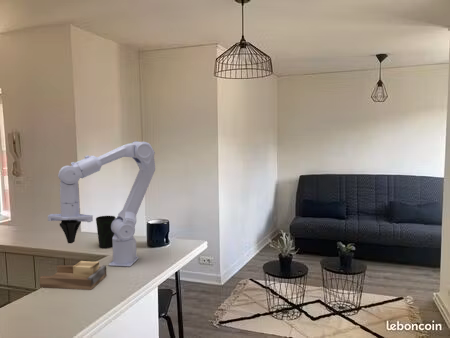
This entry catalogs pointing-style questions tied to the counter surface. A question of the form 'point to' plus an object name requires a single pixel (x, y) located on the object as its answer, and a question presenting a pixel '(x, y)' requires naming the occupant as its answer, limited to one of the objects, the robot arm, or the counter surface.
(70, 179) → the robot arm
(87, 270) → the box
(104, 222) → the cup
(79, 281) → the bay
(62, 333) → the counter surface
